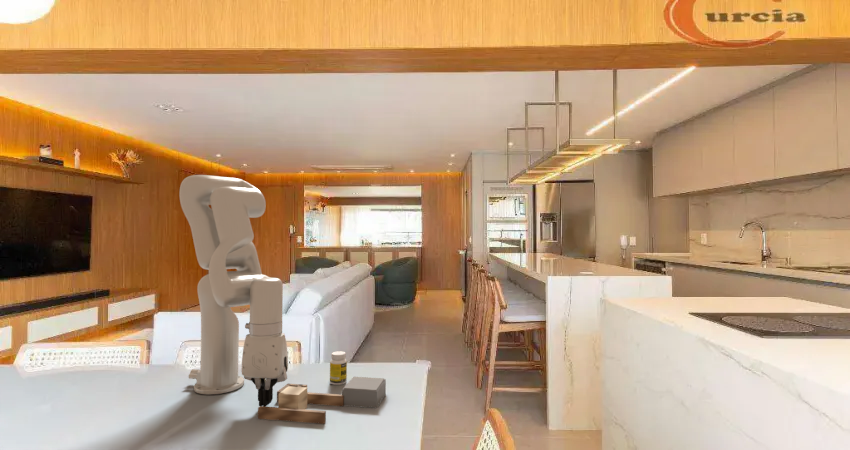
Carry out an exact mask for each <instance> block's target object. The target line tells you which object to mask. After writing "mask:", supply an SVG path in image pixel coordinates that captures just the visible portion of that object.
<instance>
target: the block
mask: <svg viewBox="0 0 850 450" xmlns="http://www.w3.org/2000/svg"><path fill="white" fill-rule="evenodd" d="M307 392H308V386H307V387H293V386H288V387H287V388H285V389H284V390H283V391H281V392H280V393H279V402H277V403H278V406H277V407H279V408H293V409H306V410H307V408H308V404H307Z"/></svg>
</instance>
